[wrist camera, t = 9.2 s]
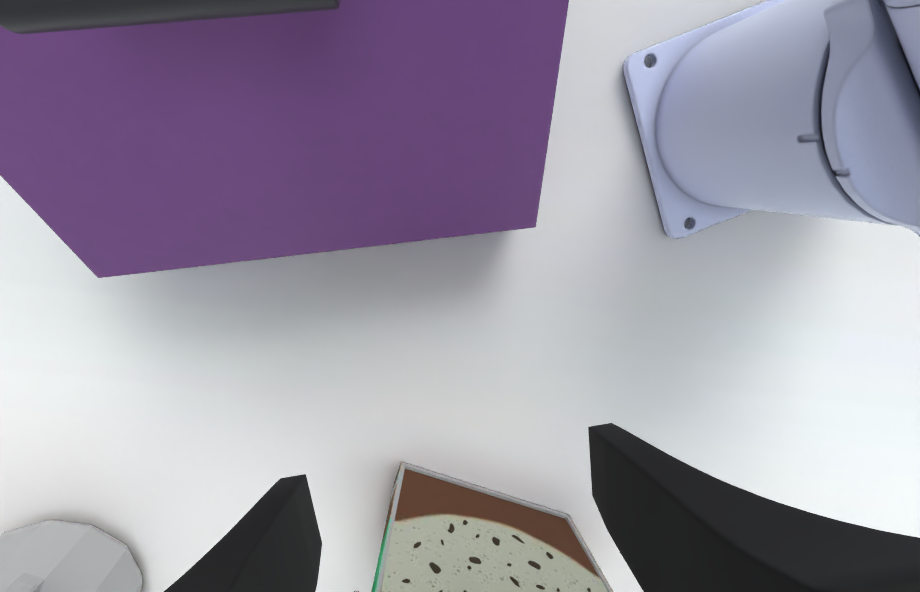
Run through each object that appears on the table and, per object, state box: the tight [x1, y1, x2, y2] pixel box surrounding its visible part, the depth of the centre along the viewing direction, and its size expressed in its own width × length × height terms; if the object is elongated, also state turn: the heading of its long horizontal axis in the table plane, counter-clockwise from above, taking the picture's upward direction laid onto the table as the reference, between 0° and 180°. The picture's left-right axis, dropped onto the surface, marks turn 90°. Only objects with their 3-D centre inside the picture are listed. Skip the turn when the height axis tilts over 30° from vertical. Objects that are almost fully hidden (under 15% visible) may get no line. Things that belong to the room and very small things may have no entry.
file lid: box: [0, 0, 569, 278], centre depth 11 cm, size 12×15×4 cm
